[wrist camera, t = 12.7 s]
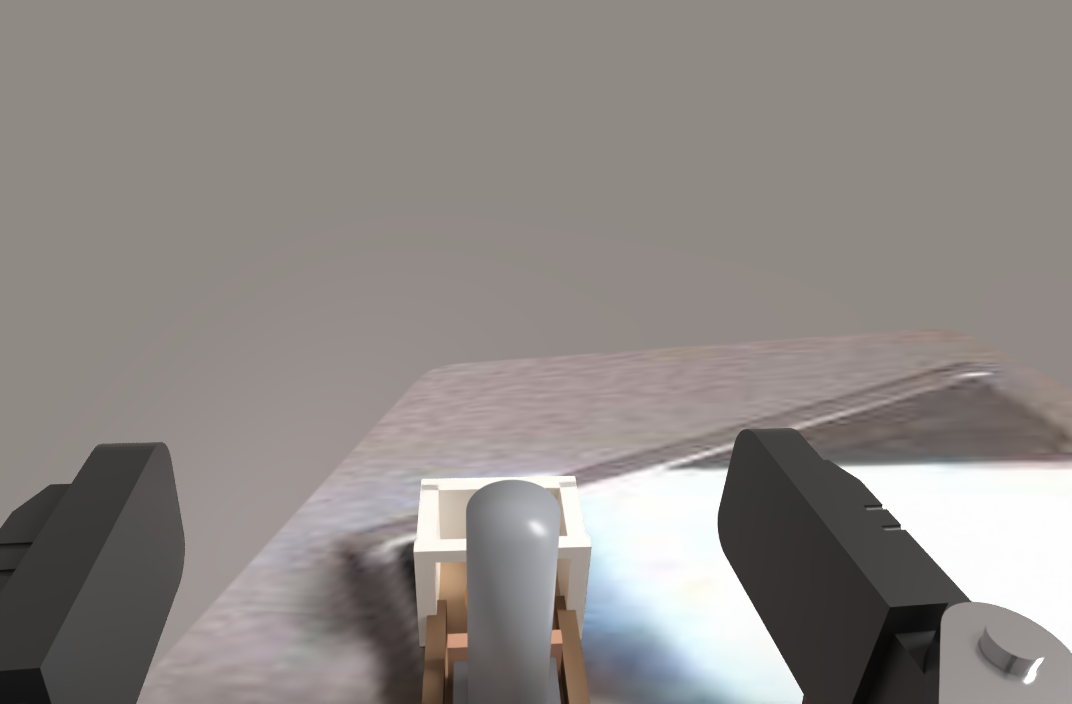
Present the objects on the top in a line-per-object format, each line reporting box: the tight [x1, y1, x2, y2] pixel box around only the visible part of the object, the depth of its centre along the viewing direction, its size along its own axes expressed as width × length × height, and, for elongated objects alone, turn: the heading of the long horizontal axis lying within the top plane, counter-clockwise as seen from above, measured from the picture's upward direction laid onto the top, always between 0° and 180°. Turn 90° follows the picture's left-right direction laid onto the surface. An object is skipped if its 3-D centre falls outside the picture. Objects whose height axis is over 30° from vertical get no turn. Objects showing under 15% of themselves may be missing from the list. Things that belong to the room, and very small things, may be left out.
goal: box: [414, 476, 591, 646], centre depth 42 cm, size 9×6×7 cm
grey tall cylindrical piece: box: [447, 480, 563, 704], centre depth 32 cm, size 6×6×14 cm
